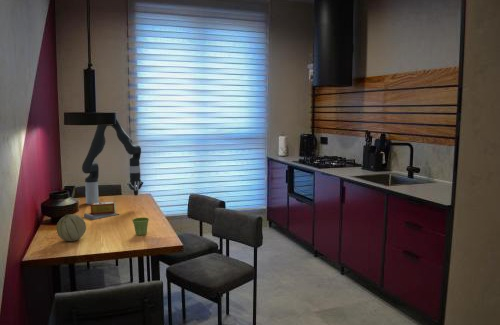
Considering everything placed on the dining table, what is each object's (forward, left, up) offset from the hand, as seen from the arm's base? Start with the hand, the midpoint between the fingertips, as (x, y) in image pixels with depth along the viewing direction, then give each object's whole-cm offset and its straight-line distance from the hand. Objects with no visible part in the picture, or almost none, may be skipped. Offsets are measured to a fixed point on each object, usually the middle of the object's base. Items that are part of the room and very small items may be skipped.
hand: (135, 195), depth 304 cm
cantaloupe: (+43, -69, -10) cm, 82 cm away
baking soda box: (-1, -16, -6) cm, 18 cm away
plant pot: (+61, -37, -10) cm, 72 cm away
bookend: (+2, -28, -10) cm, 30 cm away
